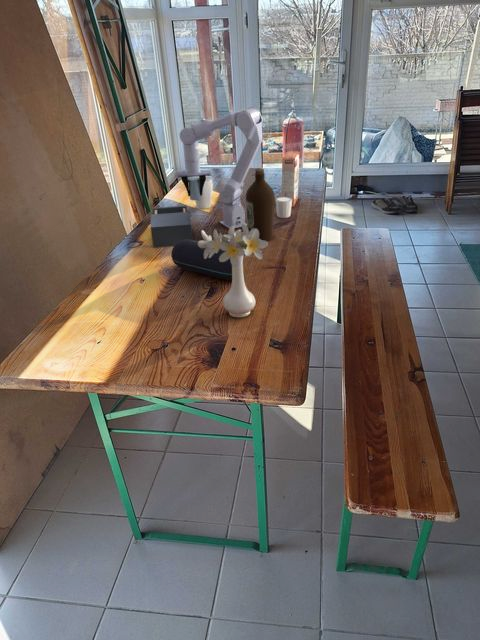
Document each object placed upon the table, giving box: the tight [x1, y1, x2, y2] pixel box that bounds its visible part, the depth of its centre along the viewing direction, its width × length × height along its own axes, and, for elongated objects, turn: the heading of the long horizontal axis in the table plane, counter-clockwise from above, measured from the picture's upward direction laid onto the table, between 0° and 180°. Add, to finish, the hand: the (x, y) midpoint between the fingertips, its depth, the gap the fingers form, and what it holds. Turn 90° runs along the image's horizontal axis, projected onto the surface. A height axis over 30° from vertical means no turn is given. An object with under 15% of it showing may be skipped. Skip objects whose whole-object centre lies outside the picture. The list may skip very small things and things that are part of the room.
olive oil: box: [245, 168, 276, 242], centre depth 182 cm, size 11×11×25 cm
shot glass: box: [275, 196, 292, 219], centre depth 208 cm, size 7×7×7 cm
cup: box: [194, 176, 214, 210], centre depth 218 cm, size 9×9×12 cm
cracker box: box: [281, 150, 301, 208], centre depth 218 cm, size 14×6×21 cm, turn 168°
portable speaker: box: [170, 239, 245, 281], centre depth 160 cm, size 25×10×10 cm, turn 59°
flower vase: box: [198, 224, 269, 318], centre depth 134 cm, size 13×18×25 cm
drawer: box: [152, 205, 188, 214], centre depth 197 cm, size 15×13×6 cm
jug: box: [188, 177, 201, 201], centre depth 200 cm, size 6×4×8 cm
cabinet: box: [150, 211, 194, 248], centre depth 187 cm, size 15×15×8 cm
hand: (195, 195), depth 201 cm, fingers closed on jug, 4 cm apart
